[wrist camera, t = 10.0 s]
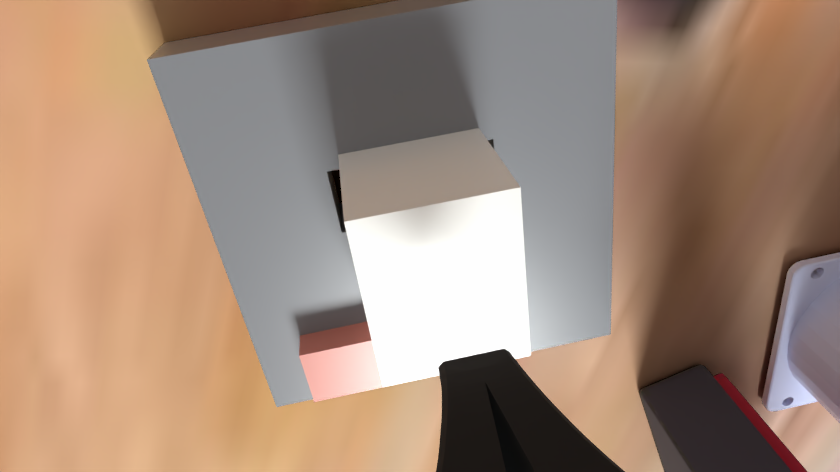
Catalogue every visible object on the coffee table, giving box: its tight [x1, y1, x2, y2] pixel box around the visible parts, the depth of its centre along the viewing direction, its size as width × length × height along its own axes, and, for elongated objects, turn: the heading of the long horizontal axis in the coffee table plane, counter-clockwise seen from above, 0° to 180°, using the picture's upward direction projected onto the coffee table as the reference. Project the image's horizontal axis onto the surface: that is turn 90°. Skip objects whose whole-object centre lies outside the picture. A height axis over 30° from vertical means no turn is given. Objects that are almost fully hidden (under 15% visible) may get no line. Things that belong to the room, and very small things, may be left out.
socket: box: [147, 0, 617, 407], centre depth 19 cm, size 12×12×3 cm
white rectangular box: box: [338, 128, 531, 387], centre depth 17 cm, size 4×5×6 cm
